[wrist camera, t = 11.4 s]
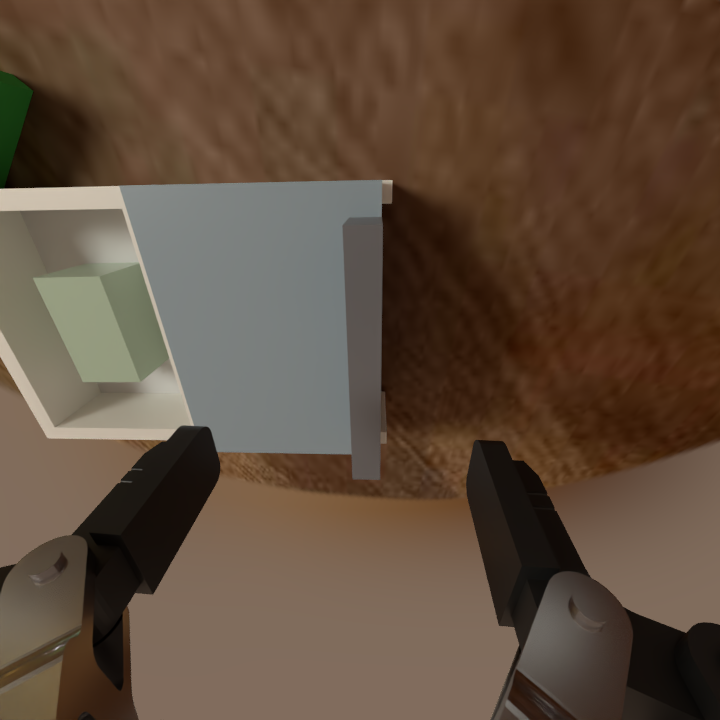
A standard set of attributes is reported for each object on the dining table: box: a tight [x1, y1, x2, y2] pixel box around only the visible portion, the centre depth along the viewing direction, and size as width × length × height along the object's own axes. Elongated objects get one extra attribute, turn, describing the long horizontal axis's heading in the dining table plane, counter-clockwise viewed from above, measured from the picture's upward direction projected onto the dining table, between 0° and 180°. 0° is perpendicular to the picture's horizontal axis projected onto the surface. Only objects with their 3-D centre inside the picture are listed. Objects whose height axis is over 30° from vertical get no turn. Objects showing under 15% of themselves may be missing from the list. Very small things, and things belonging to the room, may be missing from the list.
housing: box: [0, 180, 392, 443], centre depth 22 cm, size 24×16×5 cm, turn 91°
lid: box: [119, 180, 383, 480], centre depth 17 cm, size 12×16×4 cm
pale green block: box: [33, 262, 169, 382], centre depth 22 cm, size 4×7×4 cm, turn 2°
